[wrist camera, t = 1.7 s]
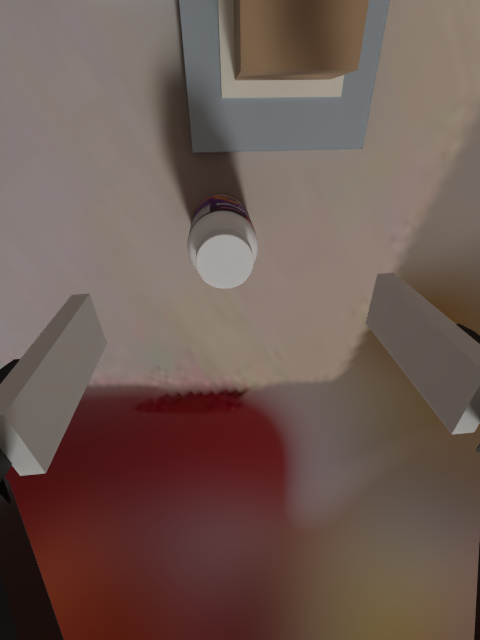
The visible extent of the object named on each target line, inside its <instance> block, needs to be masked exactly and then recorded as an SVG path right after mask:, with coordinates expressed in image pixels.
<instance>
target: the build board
mask: <svg viewBox="0 0 480 640" xmlns="http://www.w3.org/2000/svg"><path fill="white" fill-rule="evenodd" d="M389 2H390V0H369V2H368V9H367V15H366V22H365V28H364V34H363V41H362V47H361V54H360V60H359V67H358V70H356V71H353V72H351V73H348V74H345V75H342V76H339V77H336V78H333V79H331V80H238V81H235V50H234V0H179V5H180V16H181V27H182V39H183V50H184V61H185V72H186V84H187V95H188V106H189V117H190V129H191V140H192V151H193V153H202V152H245V151H287V150H330V149H363V144H364V138H365V133H366V127H367V122H368V116H369V111H370V105H371V100H372V95H373V89H374V84H375V78H376V73H377V67H378V62H379V56H380V51H381V45H382V40H383V34H384V29H385V24H386V18H387V13H388V7H389Z"/></svg>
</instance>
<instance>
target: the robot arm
mask: <svg viewBox="0 0 480 640" xmlns="http://www.w3.org/2000/svg"><path fill="white" fill-rule="evenodd" d="M366 324H367V325H368V326H369V328H370V329H371V330H372V332H373V333H374V334H375V335H376V337H377V338H378V339H379V341H380V342H381V343H382V344H383V346H384V347H385V348H386V350H387V351H388V352H389V354H390V355H391V356H392V357H393V359H394V360H395V361H396V363H397V364H398V365H399V367H400V368H401V369H402V370H403V372H404V373H405V374H406V376H407V377H408V378H409V379H410V381H411V382H412V383H413V385H414V386H415V387H416V389H417V390H418V391H419V393H420V394H421V395H422V396H423V398H424V399H425V400H426V402H427V403H428V404H429V406H430V407H431V408H432V409H433V411H434V412H435V413H436V415H437V416H438V417H439V418H440V420H441V421H442V422H443V424H444V425H445V426H446V428H447V429H448V430H449V432H450V433H451V434H461V433H471V432H474V431H475V430H476V428H477V426H478V425H479V423H480V336H479V335H478V334H477V333H476V332H474V331H473V330H471V329H468V328H466V327H464V326H462V325H460V324H455V323H453V322H452V321H451V320H450V319H449V318H448V317H446V316H445V315H444V314H443V313H441V312H440V311H439V310H438V309H437V308H435V307H434V306H433V305H432V304H430V303H429V302H428V301H427V300H426V299H425V298H423V297H422V296H421V295H420V294H419V293H417V292H416V291H415V290H414V289H412V288H411V287H410V286H409V285H408V284H406V283H405V282H404V281H403V280H402V279H400V278H399V277H398V276H397V275H396V274H394V273H384V274H377V278H376V283H375V287H374V291H373V295H372V299H371V304H370V308H369V312H368V316H367V321H366ZM106 344H107V341H106V339H105V336H104V333H103V330H102V327H101V324H100V322H99V319H98V316H97V313H96V310H95V307H94V305H93V302H92V299H91V296H90V294H78V295H72V296H71V297H70V298H69V299H68V301H67V302H66V303H65V304H64V306H63V307H62V308H61V309H60V311H59V312H58V313H57V314H56V315H55V317H54V318H53V319H52V320H51V322H50V323H49V324H48V325H47V327H46V328H45V329H44V330H43V332H42V333H41V334H40V335H39V337H38V338H37V339H36V340H35V342H34V343H33V344H32V345H31V347H30V348H29V349H28V350H27V352H26V353H25V354H24V355H23V357H22V358H21V359H15V360H13V361H11V362H10V363H8V364H7V365H6V366H4V367H3V368H1V369H0V640H64V639H63V636H62V633H61V630H60V627H59V624H58V622H57V619H56V616H55V613H54V610H53V607H52V604H51V601H50V598H49V596H48V593H47V590H46V587H45V584H44V581H43V578H42V576H41V573H40V570H39V567H38V564H37V561H36V558H35V555H34V552H33V549H32V546H31V544H30V541H29V538H28V535H27V532H26V529H25V526H24V524H23V520H22V518H21V515H20V512H19V509H18V506H17V503H16V500H15V497H14V494H13V492H12V489H11V486H10V483H9V482H8V481H7V479H6V478H5V475H6V474H7V472H8V470H9V469H10V467H11V465H12V466H13V467H14V468H15V470H16V471H17V472H18V473H19V475H20V476H21V475H32V474H43V473H46V471H47V469H48V467H49V465H50V463H51V461H52V459H53V456H54V454H55V452H56V450H57V448H58V446H59V444H60V442H61V439H62V437H63V435H64V433H65V431H66V429H67V427H68V425H69V422H70V420H71V418H72V416H73V414H74V411H75V410H76V408H77V406H78V403H79V401H80V399H81V397H82V395H83V393H84V391H85V389H86V386H87V384H88V382H89V380H90V378H91V376H92V374H93V372H94V369H95V367H96V365H97V363H98V361H99V359H100V357H101V355H102V352H103V350H104V348H105V346H106ZM476 451H478V452H480V444H479V446H478V447H477V450H476ZM477 582H478V583H477V600H476V617H475V635H474V640H480V544H479V562H478V581H477Z"/></svg>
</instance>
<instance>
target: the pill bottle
mask: <svg viewBox="0 0 480 640" xmlns="http://www.w3.org/2000/svg"><path fill="white" fill-rule="evenodd" d="M257 252H258V241H257V236H256V233H255V230H254V228H253V225H252V223H251V220H250V217H249V215H248V212H247V211H246V209H245V207H244V206H243V205H242V204H241V203H240V202H239V201H238V200H236V199H235V198H233V197H231V196H228V195H213V196H210V197H208V198H206V199H205V200H203V201H202V202H201V203H200V204H199V205H198V207H197V208H196V210H195V212H194V215H193V218H192V223H191V228H190V233H189V237H188V254H189V257H190V260H191V262H192V264H193V265H194V267H195V268H196V269H197V271H198V273H199V275H200V276H201V278H202V279H203V280H204V281H205V282H206V283H208V284H209V285H211V286H213V287H216V288H222V289H228V288H233V287H236V286H238V285H240V284H241V283H243V282H244V281H245V280H246V279H247V278H248V277H249V275H250V273H251V271H252V269H253V264H254V261H255V259H256V257H257Z"/></svg>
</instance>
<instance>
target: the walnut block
mask: <svg viewBox="0 0 480 640" xmlns="http://www.w3.org/2000/svg"><path fill="white" fill-rule="evenodd" d="M368 2H369V0H234V50H235V81H238V80H331V79H333V78H336V77H339V76H342V75H345V74H348V73H351V72H353V71H356V70H358V67H359V60H360V54H361V47H362V41H363V34H364V28H365V22H366V15H367V9H368Z"/></svg>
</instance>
